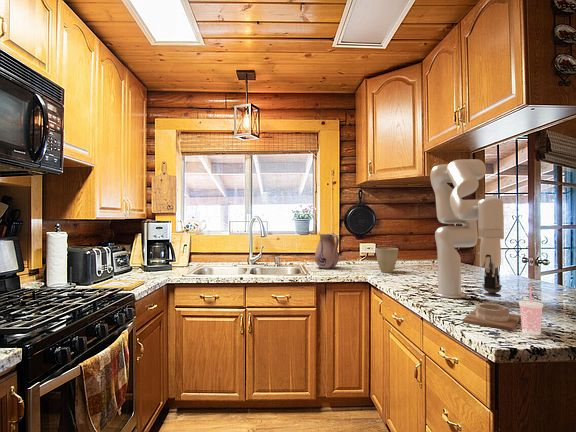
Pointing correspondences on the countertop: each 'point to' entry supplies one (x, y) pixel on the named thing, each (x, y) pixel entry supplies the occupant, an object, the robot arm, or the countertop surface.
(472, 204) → the robot arm
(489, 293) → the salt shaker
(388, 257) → the plant pot
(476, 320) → the board
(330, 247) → the ceramic pitcher
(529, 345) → the countertop surface
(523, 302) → the beverage cup
